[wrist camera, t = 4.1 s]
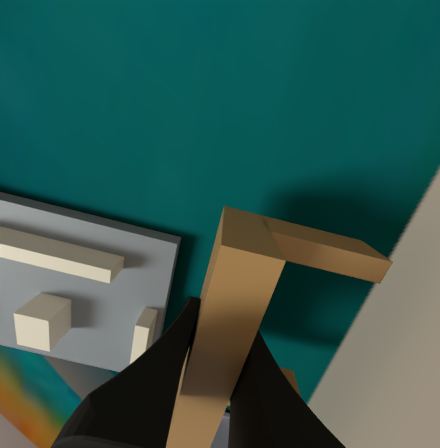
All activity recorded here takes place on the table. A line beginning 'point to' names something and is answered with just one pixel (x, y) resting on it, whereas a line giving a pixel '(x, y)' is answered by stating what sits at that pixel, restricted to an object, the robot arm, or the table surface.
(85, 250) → the stand
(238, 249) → the wooden c-shaped bracket
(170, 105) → the table surface
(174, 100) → the table surface
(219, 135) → the table surface
